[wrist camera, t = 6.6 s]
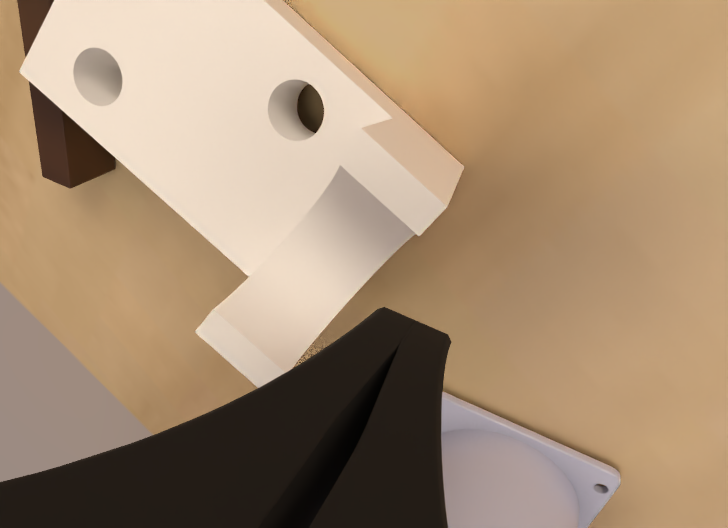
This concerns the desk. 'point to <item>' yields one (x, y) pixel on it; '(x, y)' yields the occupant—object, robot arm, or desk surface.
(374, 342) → the robot arm
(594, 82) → the desk surface
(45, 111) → the corner stop
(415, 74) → the desk surface
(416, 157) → the bracket
